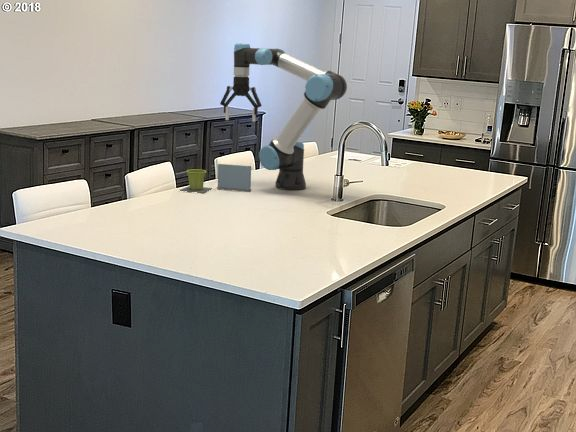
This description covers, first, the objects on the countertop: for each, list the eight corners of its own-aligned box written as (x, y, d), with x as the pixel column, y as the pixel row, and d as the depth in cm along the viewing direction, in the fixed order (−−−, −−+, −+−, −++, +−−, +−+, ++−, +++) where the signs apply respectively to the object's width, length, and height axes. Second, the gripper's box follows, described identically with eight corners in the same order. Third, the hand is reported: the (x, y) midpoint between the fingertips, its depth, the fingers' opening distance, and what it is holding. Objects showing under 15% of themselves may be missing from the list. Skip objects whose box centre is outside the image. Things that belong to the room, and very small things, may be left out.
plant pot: (208, 187, 367) (208, 169, 365) (204, 191, 358) (204, 172, 356) (188, 186, 368) (189, 168, 366) (184, 190, 358) (184, 171, 357)
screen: (251, 190, 366) (251, 165, 364) (249, 191, 363) (249, 166, 361) (219, 188, 370) (219, 163, 368) (217, 189, 367) (217, 164, 365)
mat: (212, 189, 367) (212, 188, 367) (203, 193, 356) (203, 192, 355) (188, 187, 370) (188, 186, 370) (179, 191, 358) (179, 190, 358)
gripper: (268, 77, 369) (267, 121, 374) (219, 75, 376) (218, 118, 380) (264, 77, 362) (262, 122, 367) (214, 75, 368) (213, 119, 373)
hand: (240, 120), depth 373 cm, fingers open, 13 cm apart
